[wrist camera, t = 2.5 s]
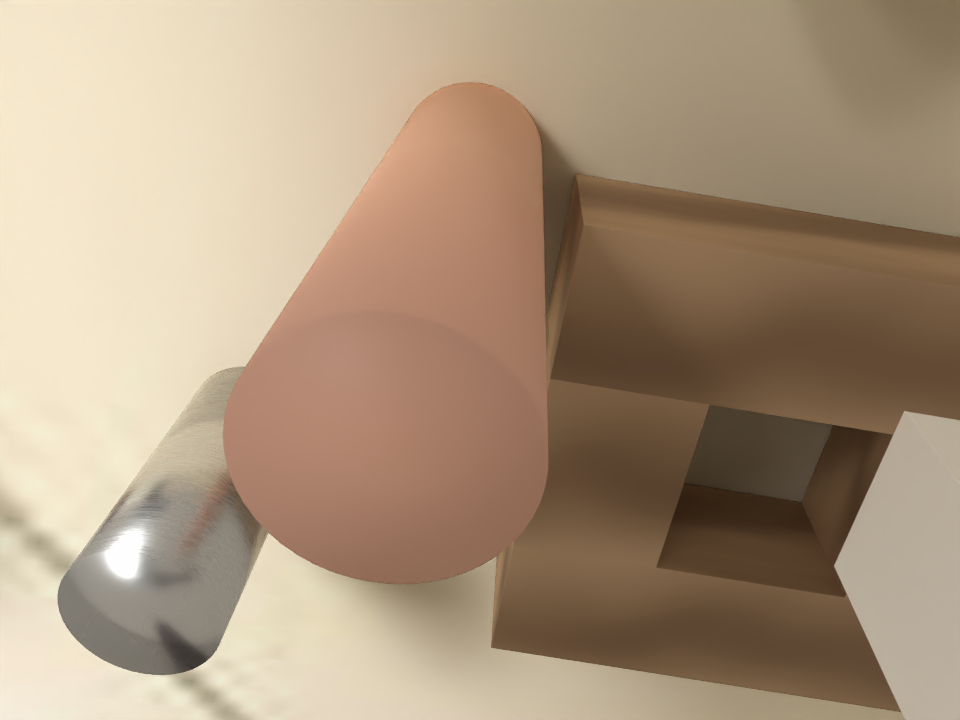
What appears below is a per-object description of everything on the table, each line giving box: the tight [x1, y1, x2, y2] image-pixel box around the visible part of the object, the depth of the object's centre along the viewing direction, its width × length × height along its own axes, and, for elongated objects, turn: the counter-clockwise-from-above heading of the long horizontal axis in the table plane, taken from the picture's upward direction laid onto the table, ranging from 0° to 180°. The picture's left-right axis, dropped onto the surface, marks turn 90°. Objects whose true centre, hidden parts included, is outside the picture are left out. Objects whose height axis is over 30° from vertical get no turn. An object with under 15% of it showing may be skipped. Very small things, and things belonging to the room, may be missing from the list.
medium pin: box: [58, 367, 268, 675], centre depth 24 cm, size 4×4×9 cm
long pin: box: [223, 82, 548, 584], centre depth 17 cm, size 4×4×15 cm
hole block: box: [491, 174, 960, 712], centre depth 25 cm, size 14×14×4 cm
